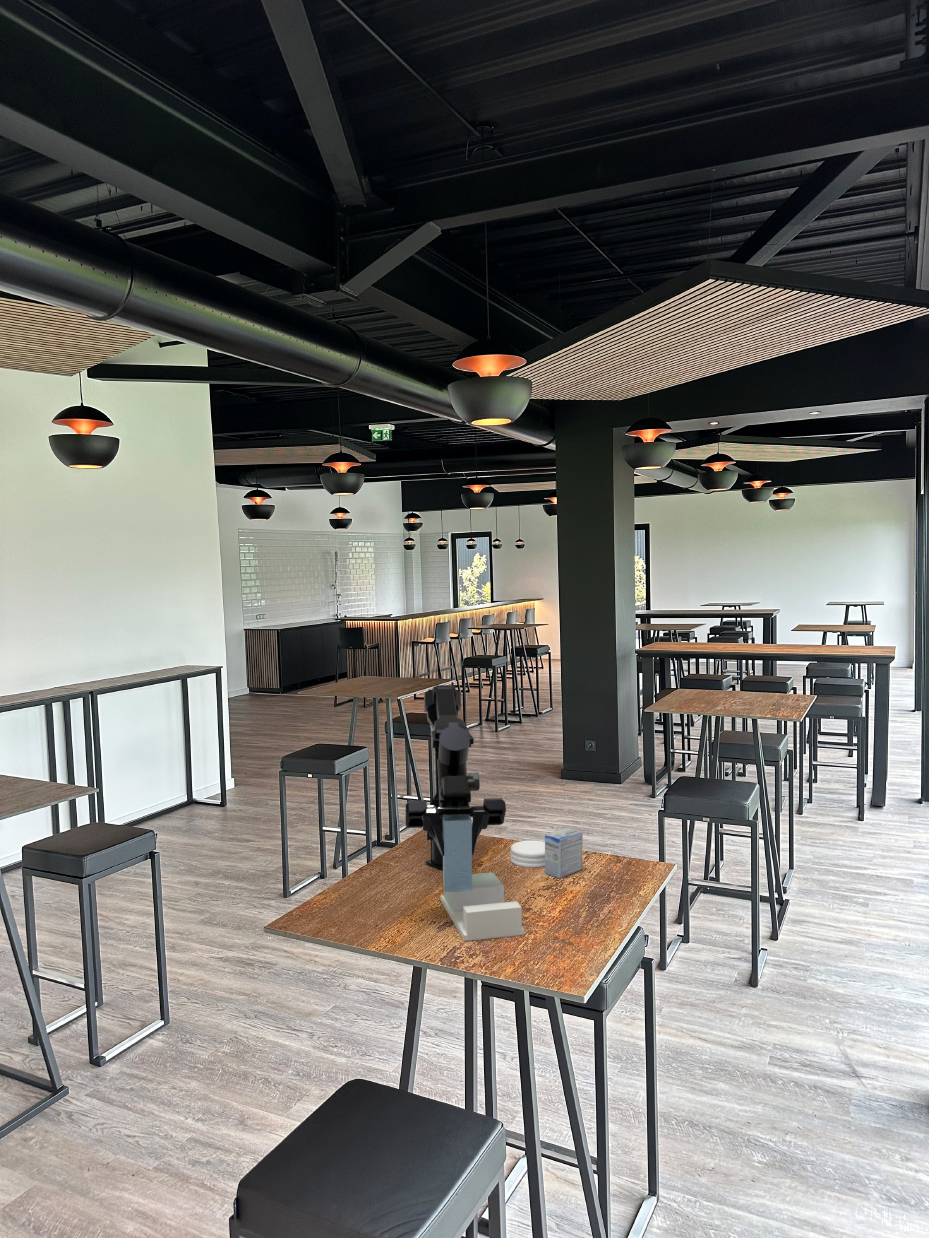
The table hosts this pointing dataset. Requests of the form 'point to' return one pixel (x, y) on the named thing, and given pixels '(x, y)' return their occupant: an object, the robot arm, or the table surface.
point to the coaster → (528, 854)
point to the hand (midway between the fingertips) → (457, 854)
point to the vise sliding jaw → (477, 892)
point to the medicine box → (563, 852)
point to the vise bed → (487, 920)
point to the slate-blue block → (457, 853)
